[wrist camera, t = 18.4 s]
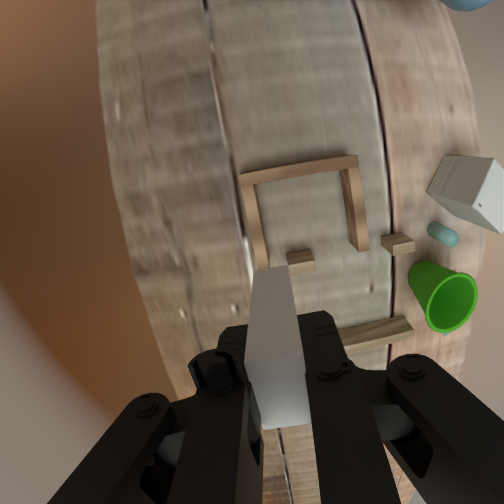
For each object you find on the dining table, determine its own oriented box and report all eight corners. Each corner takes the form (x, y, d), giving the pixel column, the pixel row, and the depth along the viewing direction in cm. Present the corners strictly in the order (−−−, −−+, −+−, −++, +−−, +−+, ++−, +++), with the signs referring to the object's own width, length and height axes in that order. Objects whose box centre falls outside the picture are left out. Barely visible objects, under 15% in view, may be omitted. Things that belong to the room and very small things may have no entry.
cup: (438, 297, 46) (469, 329, 36) (393, 302, 47) (420, 337, 36) (446, 247, 44) (483, 271, 33) (400, 249, 44) (432, 275, 34)
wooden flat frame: (241, 173, 42) (238, 175, 37) (391, 149, 40) (406, 149, 35) (277, 348, 50) (278, 366, 45) (402, 322, 48) (413, 337, 43)
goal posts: (427, 223, 43) (446, 232, 37) (439, 220, 42) (458, 229, 37) (426, 319, 48) (440, 336, 42) (437, 316, 47) (452, 332, 42)
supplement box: (454, 217, 42) (501, 237, 30) (424, 191, 41) (471, 206, 29) (473, 180, 40) (523, 191, 28) (444, 153, 39) (494, 156, 27)
